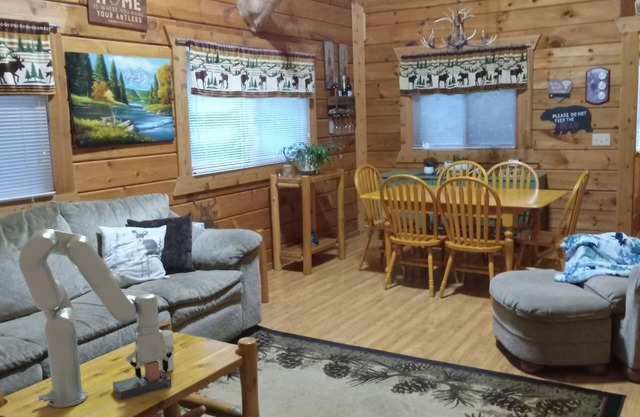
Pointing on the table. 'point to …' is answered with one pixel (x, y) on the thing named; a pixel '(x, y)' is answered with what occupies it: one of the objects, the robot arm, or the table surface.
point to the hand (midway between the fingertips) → (152, 374)
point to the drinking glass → (168, 341)
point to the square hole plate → (140, 385)
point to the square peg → (152, 370)
